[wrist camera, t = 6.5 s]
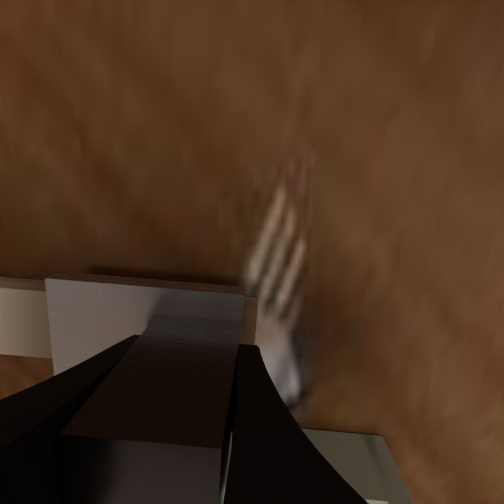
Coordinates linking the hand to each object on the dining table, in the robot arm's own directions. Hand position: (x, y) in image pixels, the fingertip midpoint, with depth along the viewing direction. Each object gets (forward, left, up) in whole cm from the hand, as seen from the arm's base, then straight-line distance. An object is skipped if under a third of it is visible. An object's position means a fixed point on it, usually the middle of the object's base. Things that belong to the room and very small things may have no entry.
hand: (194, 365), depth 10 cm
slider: (-2, -6, -2) cm, 7 cm away
